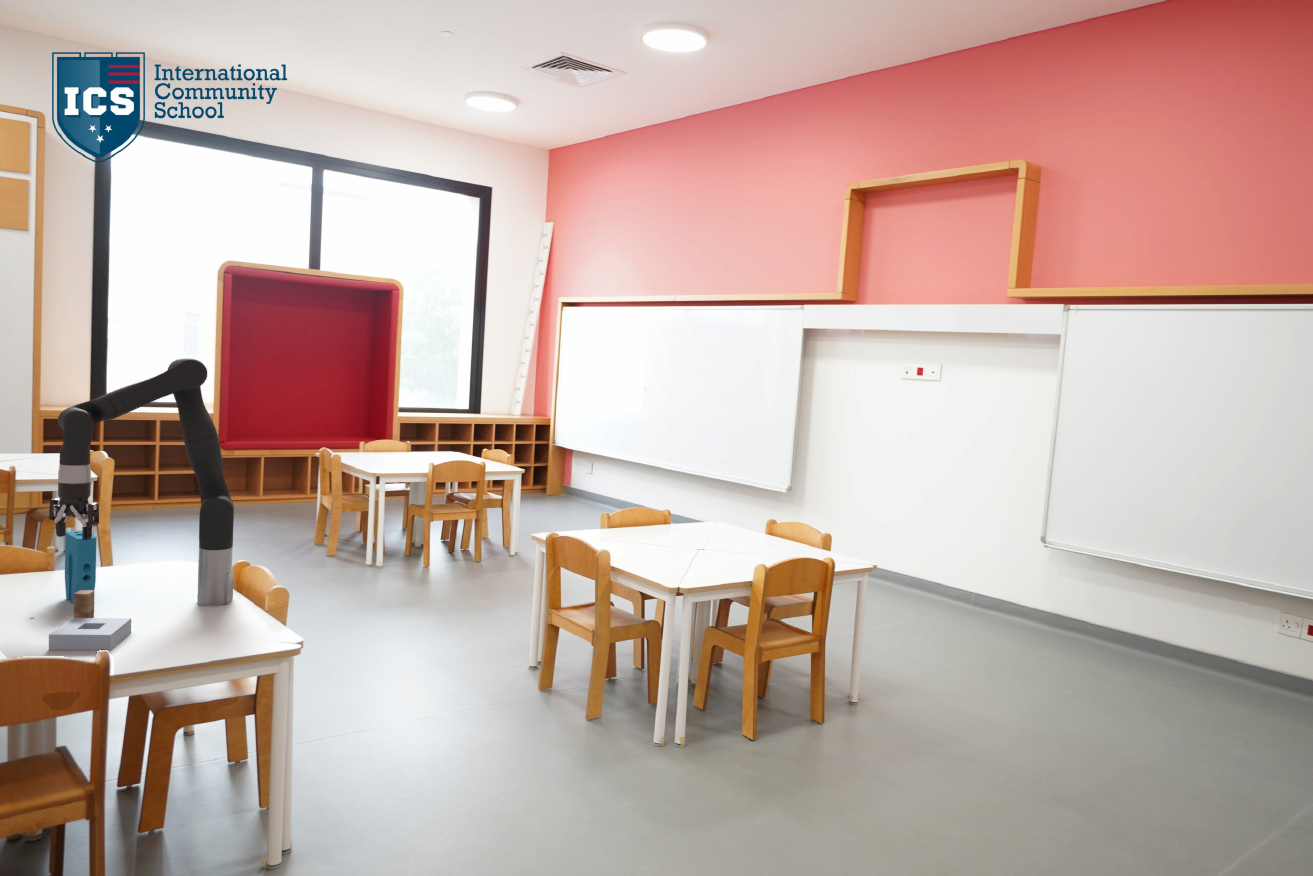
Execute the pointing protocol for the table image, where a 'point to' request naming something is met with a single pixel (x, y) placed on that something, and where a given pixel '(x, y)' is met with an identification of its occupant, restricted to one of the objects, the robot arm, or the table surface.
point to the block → (79, 563)
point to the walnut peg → (84, 604)
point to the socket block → (90, 634)
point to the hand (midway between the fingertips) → (73, 537)
